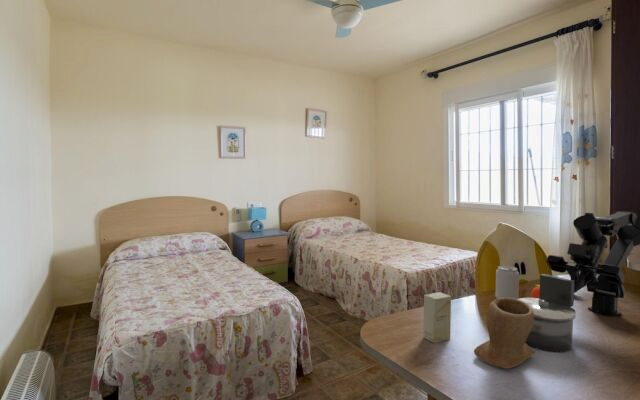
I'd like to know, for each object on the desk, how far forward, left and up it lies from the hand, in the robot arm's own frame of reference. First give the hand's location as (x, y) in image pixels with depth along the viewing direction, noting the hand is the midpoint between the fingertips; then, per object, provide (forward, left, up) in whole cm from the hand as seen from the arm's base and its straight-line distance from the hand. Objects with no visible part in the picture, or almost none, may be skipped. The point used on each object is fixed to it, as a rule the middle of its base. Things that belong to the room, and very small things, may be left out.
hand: (572, 291), depth 103 cm
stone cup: (+32, +12, -11) cm, 36 cm away
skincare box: (+43, -2, -11) cm, 44 cm away
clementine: (-6, -18, -11) cm, 22 cm away
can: (+2, -25, -11) cm, 27 cm away
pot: (+16, +2, -11) cm, 20 cm away
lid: (+15, +6, -3) cm, 16 cm away
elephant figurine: (-25, -26, -11) cm, 38 cm away
